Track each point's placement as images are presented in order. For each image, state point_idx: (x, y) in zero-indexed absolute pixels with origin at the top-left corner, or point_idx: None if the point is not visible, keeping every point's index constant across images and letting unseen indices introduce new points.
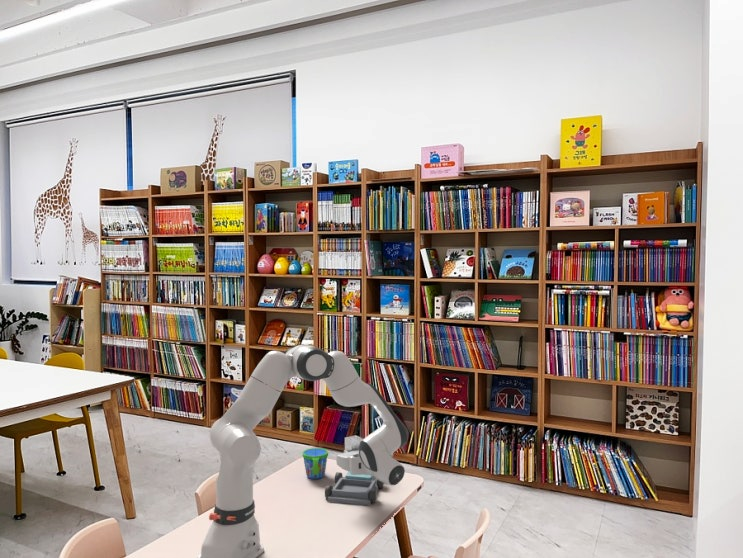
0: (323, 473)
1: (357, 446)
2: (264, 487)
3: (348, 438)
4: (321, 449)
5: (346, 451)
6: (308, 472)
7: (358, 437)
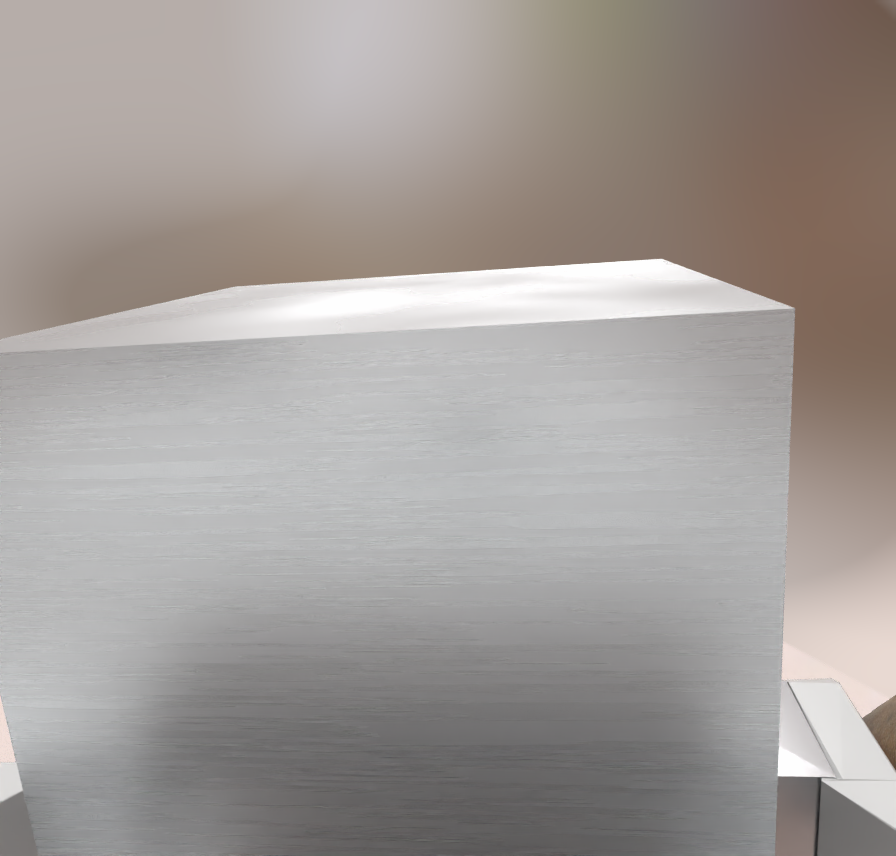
0: None
1: (388, 724)
2: (4, 715)
3: (238, 297)
4: None
5: (8, 771)
6: None
7: (632, 280)
